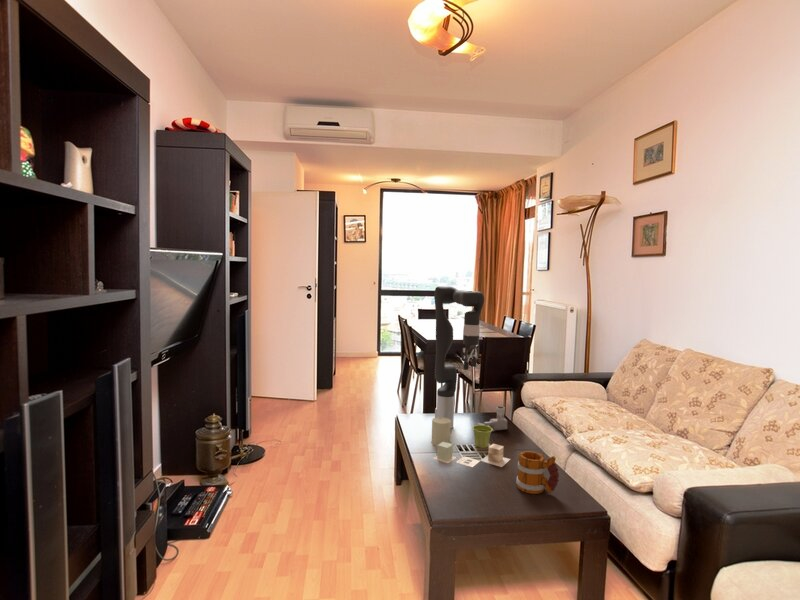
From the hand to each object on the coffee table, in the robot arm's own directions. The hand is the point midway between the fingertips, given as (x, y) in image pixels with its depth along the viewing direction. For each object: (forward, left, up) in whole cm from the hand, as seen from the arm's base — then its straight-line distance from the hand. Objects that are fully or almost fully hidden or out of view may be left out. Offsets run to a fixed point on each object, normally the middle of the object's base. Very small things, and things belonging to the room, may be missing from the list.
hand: (469, 368), depth 210 cm
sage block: (-2, -18, -38) cm, 42 cm away
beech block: (+17, -6, -38) cm, 42 cm away
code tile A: (+8, -15, -38) cm, 42 cm away
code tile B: (-2, -18, -38) cm, 42 cm away
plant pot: (+5, +6, -38) cm, 39 cm away
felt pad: (+17, -6, -38) cm, 42 cm away
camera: (0, +31, -38) cm, 49 cm away
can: (-12, -4, -38) cm, 40 cm away
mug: (+40, -21, -38) cm, 59 cm away
